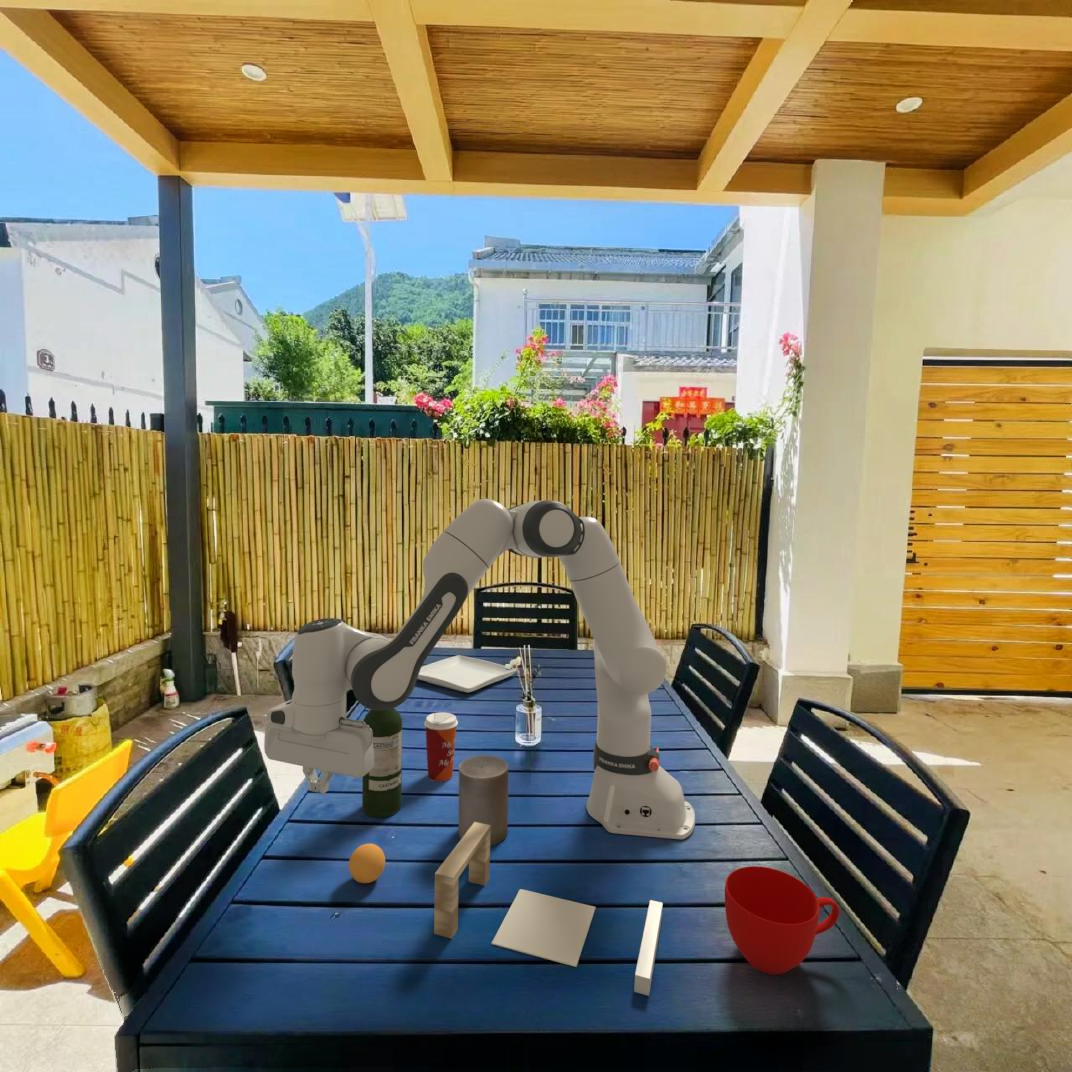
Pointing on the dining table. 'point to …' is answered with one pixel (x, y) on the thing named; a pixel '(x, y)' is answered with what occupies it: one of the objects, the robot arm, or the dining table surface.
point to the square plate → (463, 673)
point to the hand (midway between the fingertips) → (318, 790)
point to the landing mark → (545, 927)
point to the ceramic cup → (773, 917)
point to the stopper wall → (648, 948)
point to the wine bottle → (384, 765)
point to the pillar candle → (484, 795)
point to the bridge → (447, 876)
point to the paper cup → (440, 745)
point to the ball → (367, 863)
